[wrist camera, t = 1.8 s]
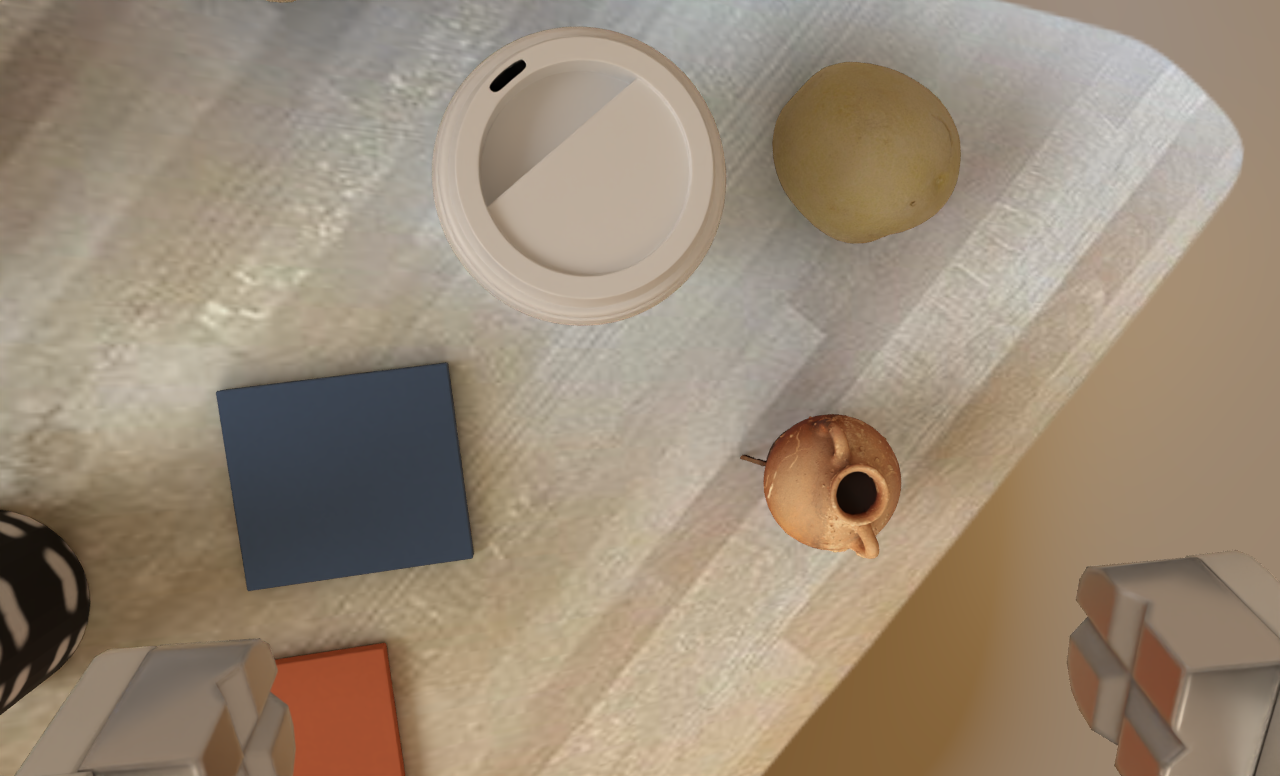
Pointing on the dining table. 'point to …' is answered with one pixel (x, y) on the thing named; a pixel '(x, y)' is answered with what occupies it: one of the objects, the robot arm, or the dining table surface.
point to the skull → (281, 0)
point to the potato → (865, 152)
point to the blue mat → (345, 475)
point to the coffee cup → (579, 176)
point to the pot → (832, 483)
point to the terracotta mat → (342, 712)
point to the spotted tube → (36, 605)
